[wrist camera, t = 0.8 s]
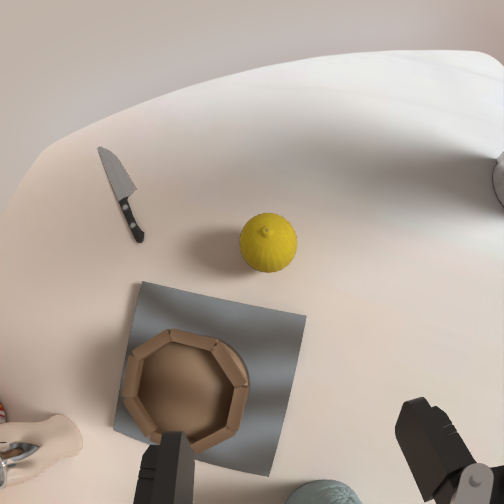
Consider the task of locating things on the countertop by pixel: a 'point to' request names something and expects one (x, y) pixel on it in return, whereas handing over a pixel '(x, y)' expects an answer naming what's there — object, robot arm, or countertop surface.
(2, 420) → the soda can
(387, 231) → the countertop surface
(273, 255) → the lemon
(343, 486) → the teal cup
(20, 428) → the beer glass
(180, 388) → the pot with square base
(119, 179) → the chef's knife
